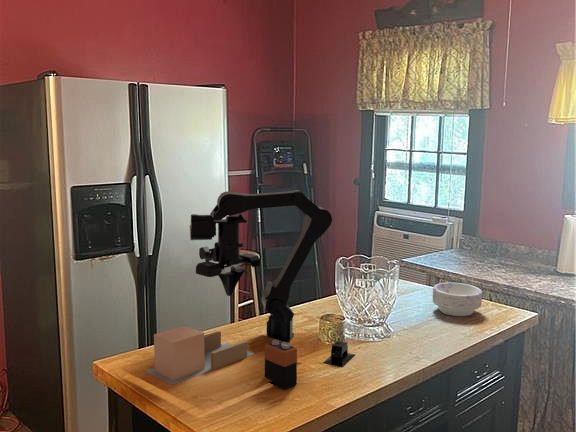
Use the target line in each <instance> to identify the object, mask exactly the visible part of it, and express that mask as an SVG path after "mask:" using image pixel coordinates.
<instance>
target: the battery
mask: <svg viewBox="0 0 576 432" xmlns="http://www.w3.org/2000/svg"><path fill="white" fill-rule="evenodd" d="M297 368H298V348H297V347H295V346H293V345H292V344H290V342H282V341H279V340H276V339H273V340H272V341H271V342H269V343H266V344H265V345H264V378H265V379H268V380H270V381H268V383H269V384H270V385H272V386H275V387H276V388H278V389H282V390H287V389H289V388H292V387H294V386H296V385H297V383H298V382H297V381H298V380H297V378H298V377H297V376H298V375H297V373H298V369H297Z"/></svg>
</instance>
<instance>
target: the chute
mask: <svg viewBox="0 0 576 432" xmlns="http://www.w3.org/2000/svg"><path fill="white" fill-rule="evenodd" d="M204 354H205V369H203V370H200V371H198V372H195V373H192V374H190V375H187V376H184V377H181V378H179V379H176V380H173V379H171V378H168V377H166V376H164V375H162V374H160V373H158V372H156V371H155V367H152V368H149V369H146V370H144V372H145V373H147V374H149V375H152V376H153V377H155V378H158V379H160V380H162V381H163V382H166V383H167V384H169V385H173V386H174V385H176V384H179V383H181V382H184V381H187V380H190V379H192V378H195V377H197V376H200V375H203V374H206V373H208V372H211V371H214V370H216V369H218V368H221V367H224V366H226V365H229V364H232V363H234V362H238V361H240V360H242V359H243V360H244V359H246V358H249V357H250V356H253V355H256V353H255V352H254V351H253V352H252V351H250V350H248V341H247V340H243V341H240V342H237V343H233V344H231V343H229V342H226V343H222V332H221V331H219V330H218V331H217V330H216V331H215V332H212V333H208V334H204Z"/></svg>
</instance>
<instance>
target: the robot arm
mask: <svg viewBox="0 0 576 432" xmlns="http://www.w3.org/2000/svg"><path fill="white" fill-rule="evenodd" d="M216 200H217V201H216V205H215V206H214V208H213V209H212V210H211V212H210V213H209V214H194V213H193V214H190V224H189V237H190V239H189V240H190V241H207V240H208V241H210V240H211V241H212V240H213V238H215V237H216V236H217V238H218V239H217V242H214V246H213V247H212V248H209V246H202V247H200V248H199V250H198V253H199V254H198V255H199V259H200V260H204V261H202V262H199V263H197V264H196V266H195V274H196V275H199V276H203V277H207V278H214V277H217V276H218V277H219V279H220V281H221V283H222V287H223V288H224V292H225V295H226V296H227V297H231V296H232V295H233V293H234V291H235V289H236V287H237V284H238V283H239V281H240V279H241V277H242V276H243V274H244V273H246V269H243V266H244V265H249V264H250V266H251V267H252V268H256V267H260V266H261V258H260V256H259V255H258V254H252V253H247V252H246V253H241V252H240V250H241V249H240V248H243V245H244V243H243V242H241V241H240V237H241V235H240V234H241V233H240V226H241V225H240V224H247V222H248V220H247V219H246V218H245V217H244V216H243V214H244V213H245V212H248V211H251V210H255V209H257V210H258V209H267V208H268V209H269V208H280V207H290V206H293V207H294V206H295V207H296V208H297V209H298V210H299V211H300V212H301V213H302V214H304V216H305V217H304V220H303V223H302V229H301V234H300V236H299V237H298V238H297V241H296V243H295V245H294V247H293V249H292V251H291V252H290V254H289V256H288V258H287V260H286V262H285V264H284V265H283V267H282V269H281V271H280V273H279V275H278V277H277V278H276V279H275V280H274V281H273V282H272V281H270V280H268V281H267V283H266V285H265V287H264V289H263V290H262V291H261V292H260V293H261V294H262V296H261V302H262V305H263V307H264V308H265V310H266V312H267V313H268V314H270V315H269V316H268V320H267V321H266V337H268V338H270V339H273V340H279V341H280V342H283V343H284V342H285V343H290V342H291V340H292V339H293V338H294V335H295V333H294V332H293V331H294V330H293V325H294V324H293V322H294V316H295V313H294V312H293V310H292V309H291V307H290V306H289V304H288V302H289V299H290V294H291V289H292V286H293V283H295V280H296V278H297V276H298V275H299V273H300V271H301V269H302V267H303V266H304V264H305V262H306V260H307V259H308V256H309V255H310V252H311V251H312V248H313V246H314V245H315V243H316V242H317V241H318V240H319V239H320V238H321V237H322V236H324V234H325V233H326V232H327V230H329V228H330V227H331V225H332V224H333V223H332V222H333V217H332V214H331V213H330V211H328V210H327V209H326V208H323V207H321V206H319V205H316V204H315V202H313V201H312V200H310V199H309V198H308V197H307V196H306V195H305V193H303V191H300V190H298V189H293V190H288V191H287V190H286V191H276V192H264V193H244V192H236V191H227V190H226V191H224V192H221V193H220V194H219V196H218V197H217V199H216ZM217 233H218V234H217ZM240 253H241V254H240ZM216 262H217V263H216Z"/></svg>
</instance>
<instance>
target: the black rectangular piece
mask: <svg viewBox="0 0 576 432" xmlns="http://www.w3.org/2000/svg"><path fill="white" fill-rule="evenodd" d="M330 350H331V351H330V352H331V353H330V356H329V357H328V358H326V359H325V360H323V362H322V364H323V365H329V366H333V367H339V368H344V367H346V365H347V364H348V363H349V362H351V360H353V358H355V356H357V354H356V353H355V354H354V353H350V352H349V346H348V342H346V341H341V340H337V341H335V342H334V343H332V345H331V349H330Z"/></svg>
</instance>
